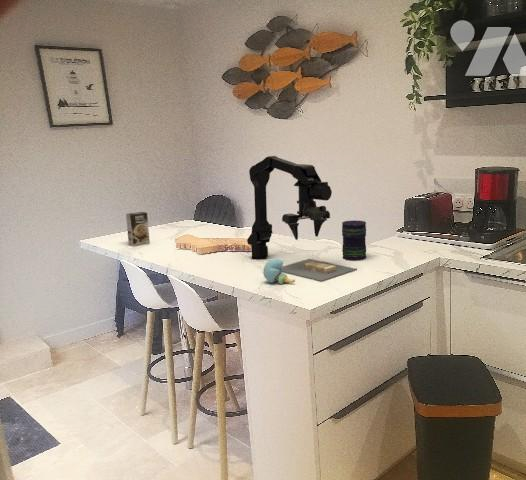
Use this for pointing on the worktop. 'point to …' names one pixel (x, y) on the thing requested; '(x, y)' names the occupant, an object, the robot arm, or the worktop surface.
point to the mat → (299, 271)
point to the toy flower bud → (275, 272)
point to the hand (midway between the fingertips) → (306, 238)
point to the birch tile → (319, 267)
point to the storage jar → (354, 240)
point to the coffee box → (137, 228)
